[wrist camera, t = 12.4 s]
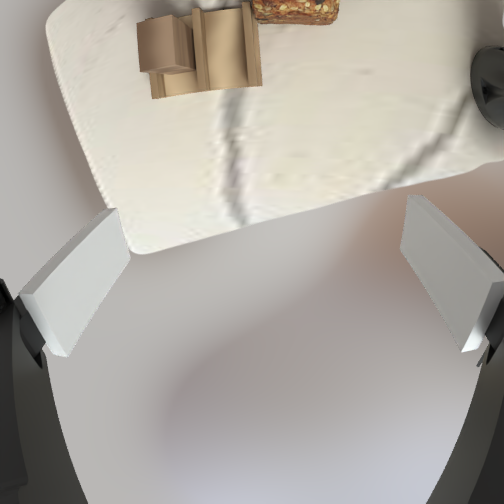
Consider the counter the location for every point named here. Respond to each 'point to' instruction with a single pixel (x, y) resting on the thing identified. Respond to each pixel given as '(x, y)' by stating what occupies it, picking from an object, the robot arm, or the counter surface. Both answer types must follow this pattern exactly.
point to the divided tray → (217, 54)
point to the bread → (295, 11)
